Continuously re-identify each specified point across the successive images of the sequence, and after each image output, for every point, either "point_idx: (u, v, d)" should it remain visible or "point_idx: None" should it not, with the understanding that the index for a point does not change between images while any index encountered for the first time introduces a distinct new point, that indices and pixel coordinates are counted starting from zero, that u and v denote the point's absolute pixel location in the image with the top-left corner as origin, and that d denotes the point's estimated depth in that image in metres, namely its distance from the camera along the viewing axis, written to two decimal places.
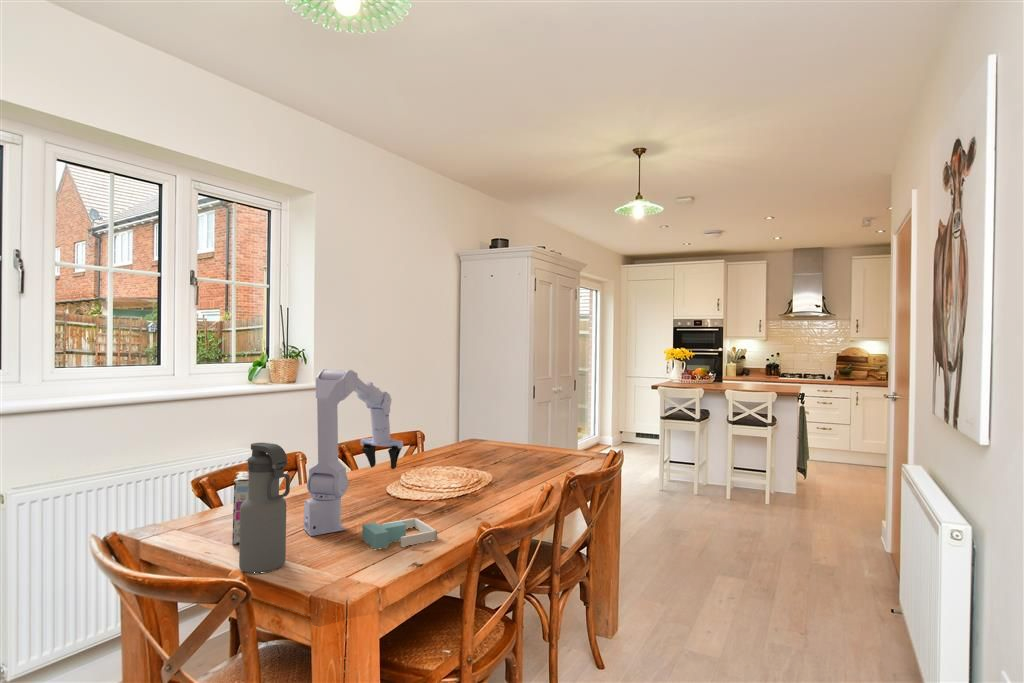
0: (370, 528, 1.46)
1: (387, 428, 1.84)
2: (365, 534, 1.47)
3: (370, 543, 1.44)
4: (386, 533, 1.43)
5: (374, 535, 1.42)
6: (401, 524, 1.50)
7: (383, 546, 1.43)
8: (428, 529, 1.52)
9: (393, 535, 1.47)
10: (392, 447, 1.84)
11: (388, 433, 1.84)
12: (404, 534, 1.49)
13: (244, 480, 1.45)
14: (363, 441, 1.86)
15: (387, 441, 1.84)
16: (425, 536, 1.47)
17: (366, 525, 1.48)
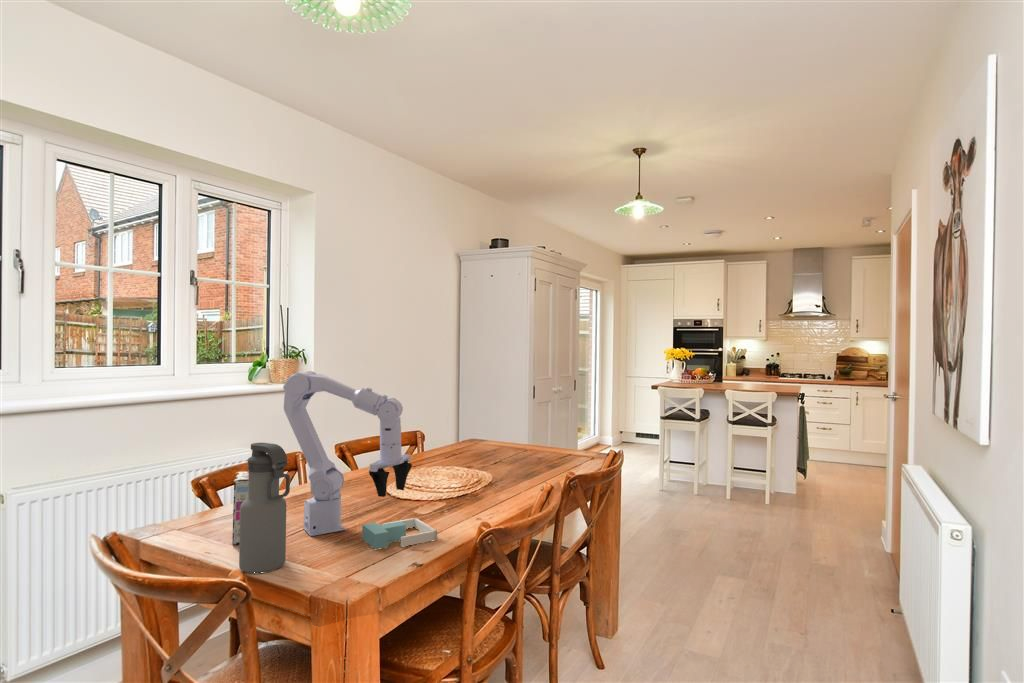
0: (370, 528, 1.46)
1: (382, 444, 1.54)
2: (365, 534, 1.47)
3: (370, 543, 1.44)
4: (386, 533, 1.43)
5: (374, 535, 1.42)
6: (401, 524, 1.50)
7: (383, 546, 1.43)
8: (428, 529, 1.52)
9: (393, 535, 1.47)
10: None
11: (383, 451, 1.54)
12: (404, 534, 1.49)
13: (244, 480, 1.45)
14: None
15: (381, 460, 1.54)
16: (425, 536, 1.47)
17: (366, 525, 1.48)
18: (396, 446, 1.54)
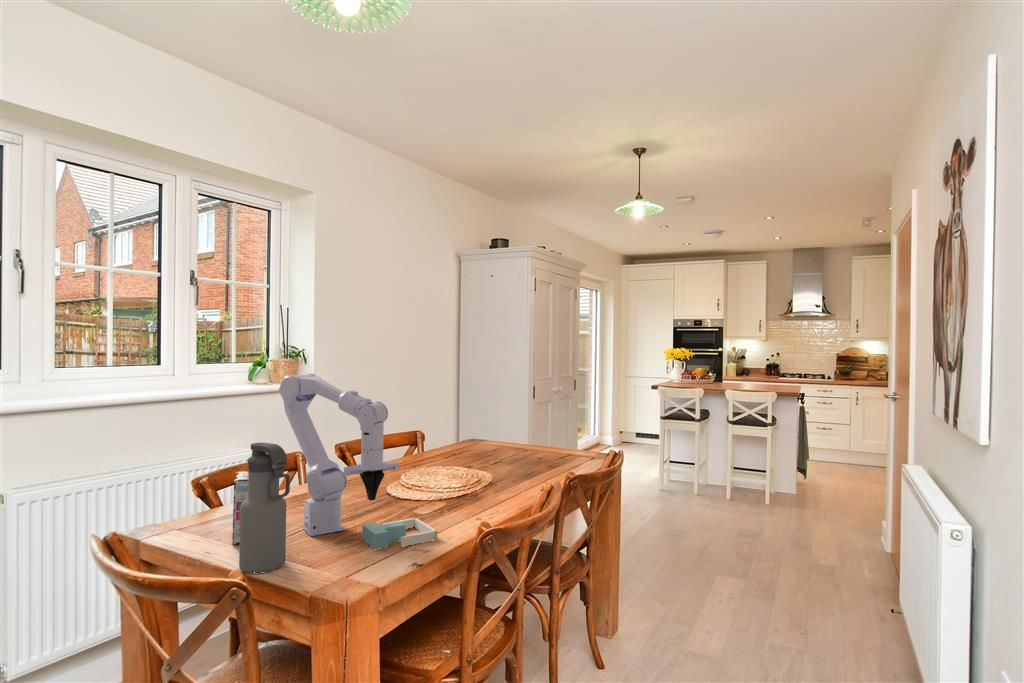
0: (370, 528, 1.46)
1: (361, 449, 1.50)
2: (365, 534, 1.47)
3: (370, 543, 1.44)
4: (386, 533, 1.43)
5: (374, 535, 1.42)
6: (401, 524, 1.50)
7: (383, 546, 1.43)
8: (428, 529, 1.52)
9: (393, 535, 1.47)
10: None
11: (361, 456, 1.50)
12: (404, 534, 1.49)
13: (244, 480, 1.45)
14: None
15: (360, 464, 1.51)
16: (425, 536, 1.47)
17: (366, 525, 1.48)
18: (373, 452, 1.49)
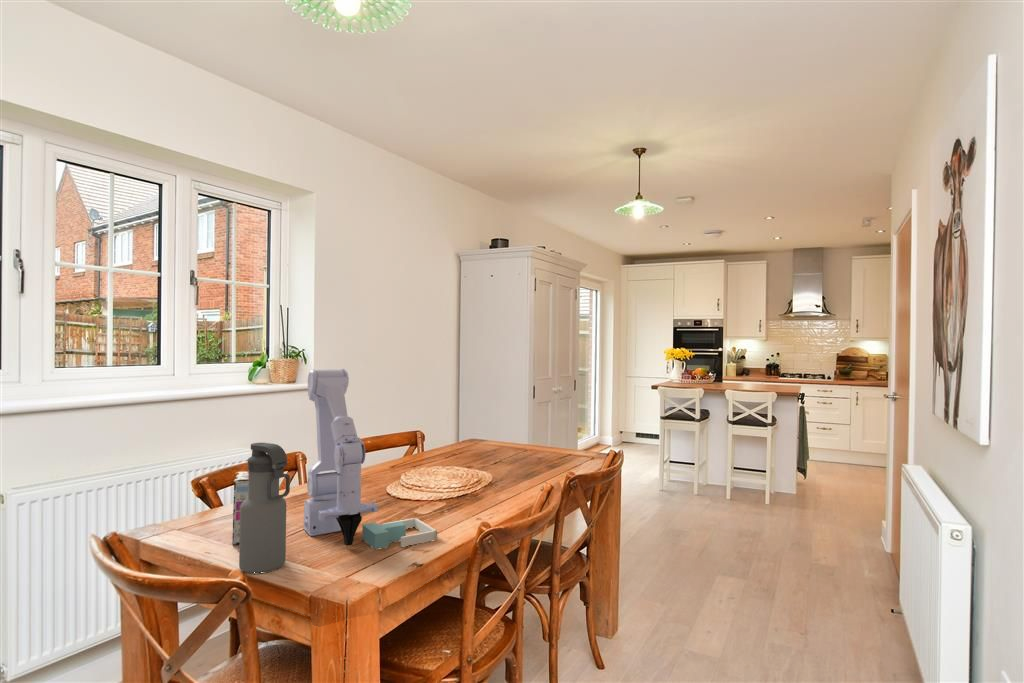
0: (370, 528, 1.46)
1: (337, 491, 1.41)
2: (365, 534, 1.47)
3: (370, 543, 1.44)
4: (386, 533, 1.43)
5: (374, 535, 1.42)
6: (401, 524, 1.50)
7: (383, 546, 1.43)
8: (428, 529, 1.52)
9: (393, 535, 1.47)
10: None
11: (337, 498, 1.41)
12: (404, 534, 1.49)
13: (244, 480, 1.45)
14: None
15: (336, 507, 1.42)
16: (425, 536, 1.47)
17: (366, 525, 1.48)
18: (349, 495, 1.40)
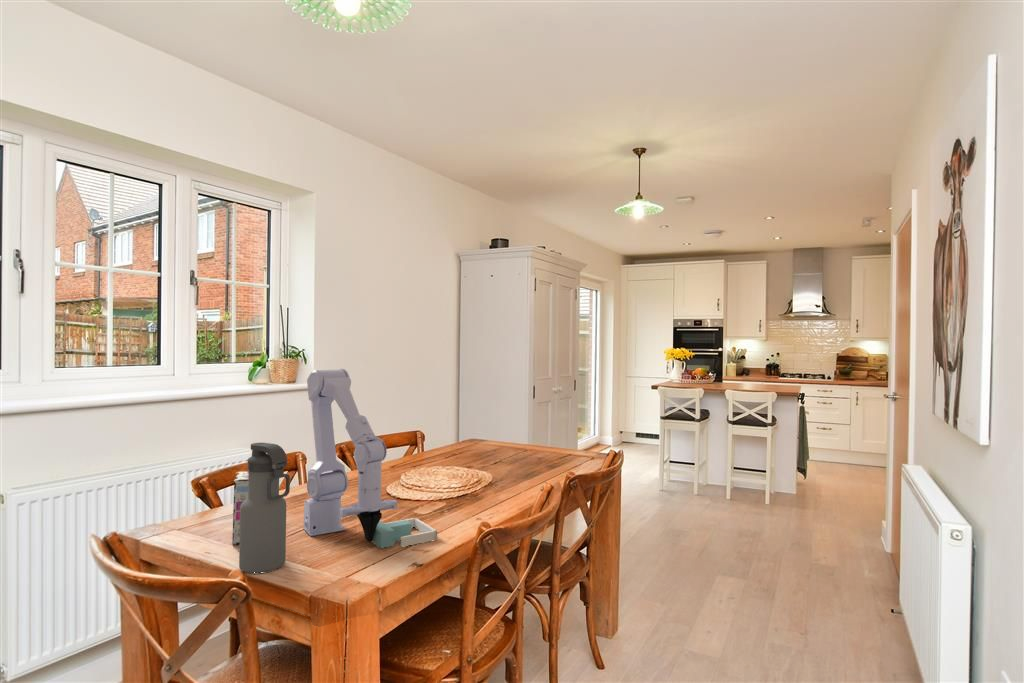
0: (376, 527, 1.47)
1: (358, 488, 1.44)
2: None
3: (376, 542, 1.45)
4: (392, 532, 1.44)
5: (380, 534, 1.43)
6: (406, 523, 1.50)
7: (389, 545, 1.44)
8: (428, 529, 1.52)
9: (398, 533, 1.48)
10: None
11: (358, 495, 1.44)
12: (410, 533, 1.50)
13: (244, 480, 1.45)
14: None
15: (357, 504, 1.45)
16: (425, 536, 1.47)
17: None
18: (370, 492, 1.43)
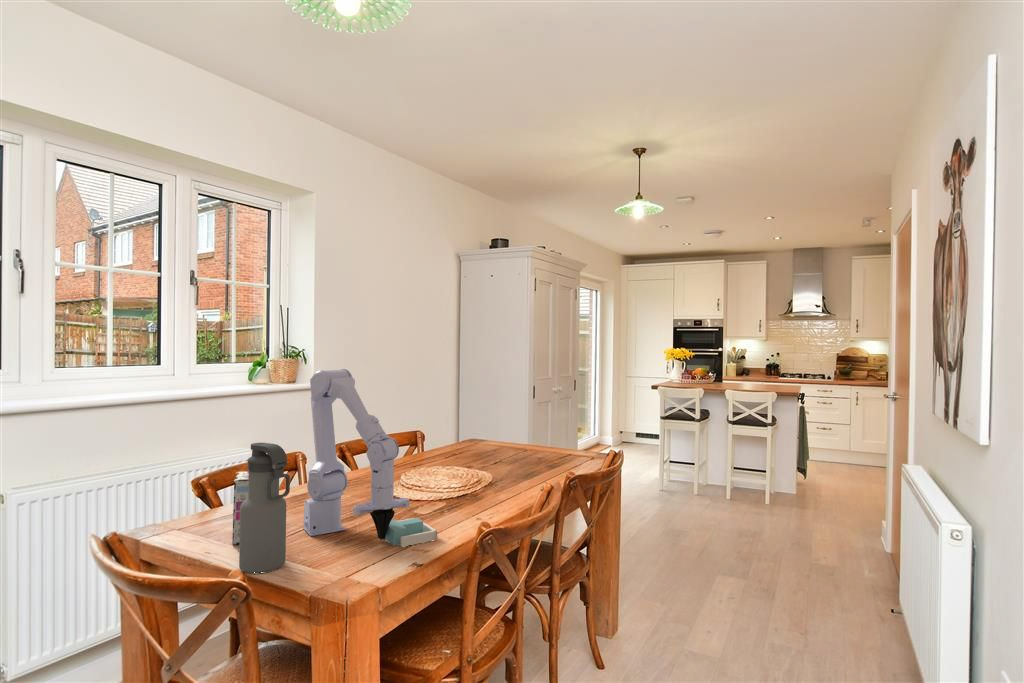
0: None
1: (371, 486, 1.46)
2: None
3: (389, 539, 1.47)
4: (404, 529, 1.46)
5: (393, 531, 1.45)
6: (418, 521, 1.52)
7: None
8: (428, 529, 1.52)
9: (410, 531, 1.50)
10: None
11: (371, 494, 1.46)
12: (422, 530, 1.52)
13: (244, 480, 1.45)
14: None
15: (370, 502, 1.47)
16: (425, 536, 1.47)
17: None
18: (383, 490, 1.45)
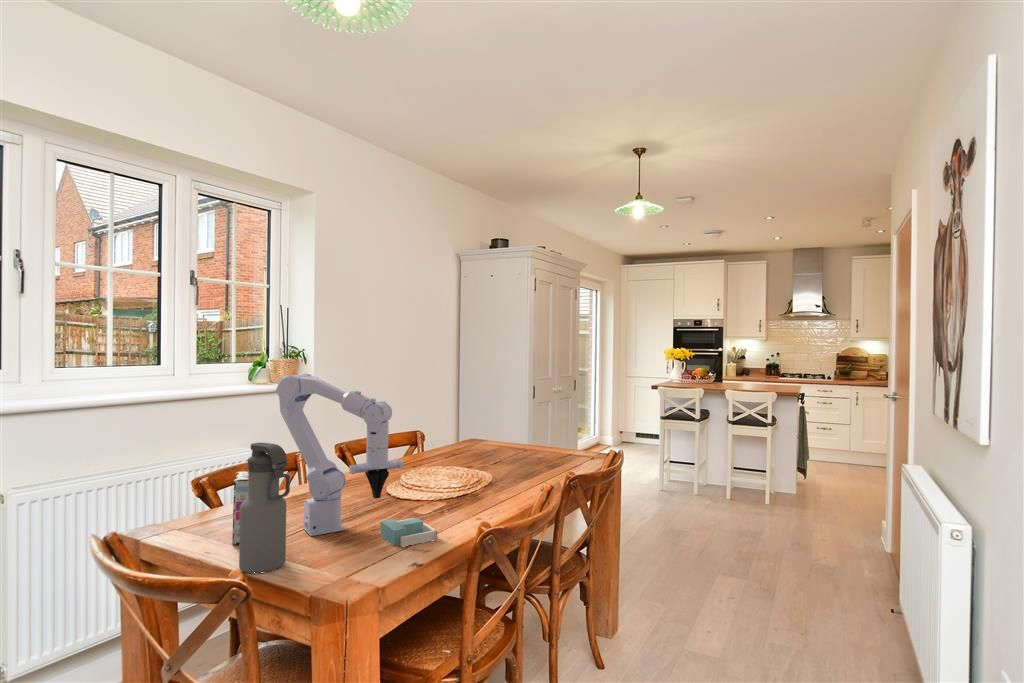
0: (388, 525, 1.49)
1: None
2: (383, 531, 1.50)
3: (389, 539, 1.47)
4: (404, 529, 1.46)
5: (393, 531, 1.45)
6: (418, 521, 1.52)
7: None
8: (428, 529, 1.52)
9: (410, 531, 1.50)
10: None
11: (366, 454, 1.52)
12: (422, 530, 1.52)
13: (244, 480, 1.45)
14: None
15: (366, 463, 1.53)
16: (425, 536, 1.47)
17: (384, 522, 1.51)
18: (378, 451, 1.51)
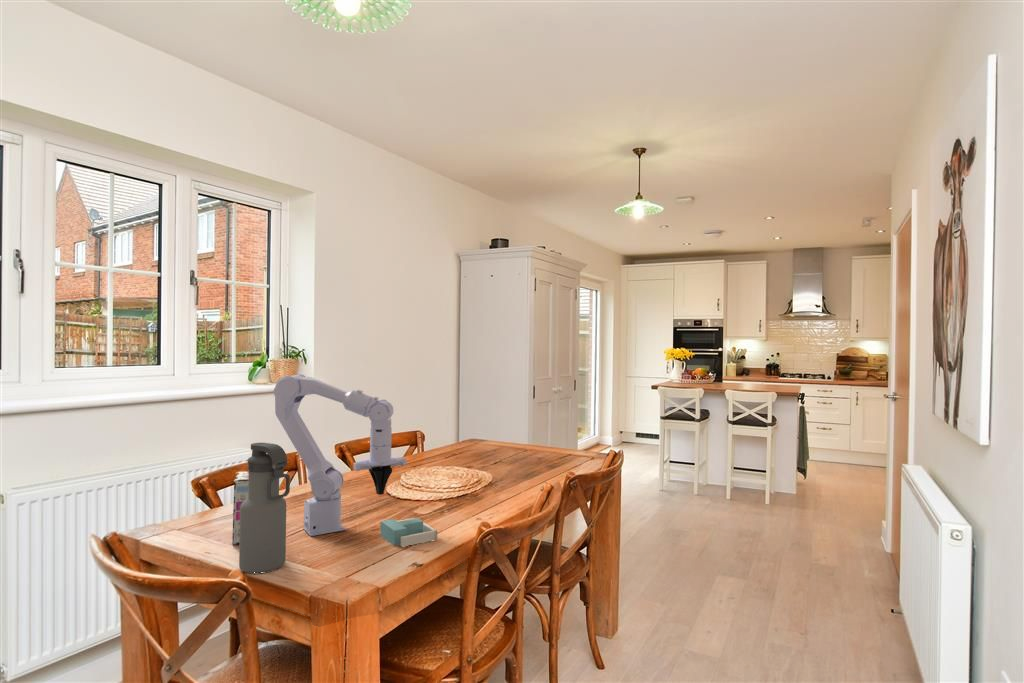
0: (388, 525, 1.49)
1: (370, 445, 1.56)
2: (383, 531, 1.50)
3: (389, 539, 1.47)
4: (404, 529, 1.46)
5: (393, 531, 1.45)
6: (418, 521, 1.52)
7: None
8: (428, 529, 1.52)
9: (410, 531, 1.50)
10: None
11: (370, 452, 1.56)
12: (422, 530, 1.52)
13: (244, 480, 1.45)
14: None
15: (369, 460, 1.56)
16: (425, 536, 1.47)
17: (384, 522, 1.51)
18: (381, 448, 1.54)
